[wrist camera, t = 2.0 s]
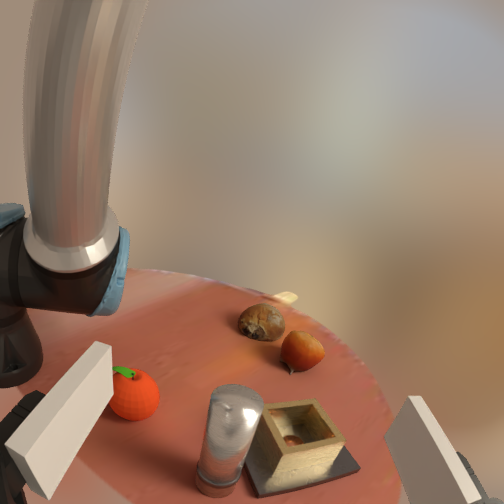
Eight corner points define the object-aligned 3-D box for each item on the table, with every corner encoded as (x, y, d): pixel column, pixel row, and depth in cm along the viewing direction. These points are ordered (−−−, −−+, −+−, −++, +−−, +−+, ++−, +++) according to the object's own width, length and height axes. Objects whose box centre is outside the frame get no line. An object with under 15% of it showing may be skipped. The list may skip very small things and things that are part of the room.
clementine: (91, 410, 32) (86, 370, 30) (120, 385, 38) (119, 346, 37) (142, 439, 30) (141, 400, 28) (167, 409, 37) (171, 370, 35)
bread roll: (280, 354, 64) (301, 324, 64) (248, 343, 58) (271, 309, 58) (256, 332, 72) (275, 304, 72) (225, 319, 66) (245, 288, 66)
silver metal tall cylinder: (199, 500, 23) (216, 421, 20) (191, 468, 28) (204, 383, 24) (240, 496, 25) (272, 417, 22) (229, 466, 29) (255, 382, 26)
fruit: (261, 353, 54) (288, 318, 55) (283, 363, 59) (307, 332, 60) (290, 378, 48) (319, 340, 48) (310, 386, 53) (336, 352, 53)
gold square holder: (257, 498, 25) (268, 477, 24) (225, 417, 38) (231, 391, 36) (357, 472, 30) (374, 449, 29) (312, 408, 43) (322, 384, 41)
